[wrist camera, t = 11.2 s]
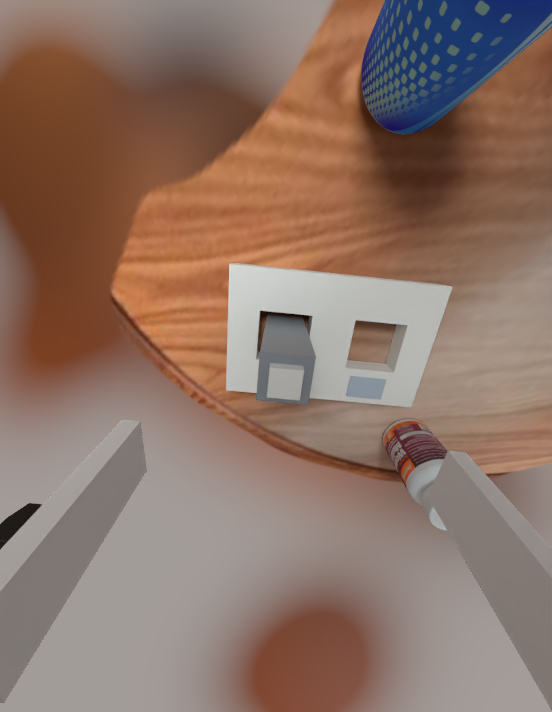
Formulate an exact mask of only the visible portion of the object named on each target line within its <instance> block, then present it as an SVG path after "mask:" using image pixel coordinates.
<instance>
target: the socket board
mask: <svg viewBox="0 0 552 712" xmlns="http://www.w3.org/2000/svg"><path fill="white" fill-rule="evenodd" d="M451 290H452V287H451V286H446V285H441V284H435V283H425V282H415V281H406V280H396V279H386V278H376V277H367V276H357V275H347V274H338V273H328V272H318V271H309V270H299V269H289V268H279V267H270V266H260V265H250V264H241V263H231V264H230V266H229V301H228V337H227V373H226V390H229V391H239V392H250V393H257V381H258V368H259V356H260V352H258V345H259V332H260V319H261V311H269V312H279V313H289V314H299V315H309V322H308V329H307V331H308V334H309V337H310V340H311V343H312V346H313V349H314V352H315V355H316V360H315V366H314V372H313V378H312V384H311V390H310V396H309V398H315V399H325V400H336V401H347V402H358V403H369V404H379V405H390V406H401V407H412V404H413V401H414V398H415V395H416V392H417V390H418V387H419V384H420V381H421V378H422V375H423V372H424V369H425V366H426V363H427V360H428V357H429V355H430V352H431V349H432V346H433V343H434V340H435V337H436V334H437V331H438V328H439V325H440V322H441V319H442V317H443V314H444V311H445V308H446V305H447V302H448V299H449V296H450V293H451ZM356 320H359V321H369V322H380V323H390V324H396V328H395V332H394V335H393V339H392V342H391V346H390V349H389V353H388V357H387V360H386V364H383V363H372V362H362V361H352V360H347V358H348V354H349V349H350V344H351V340H352V335H353V330H354V326H355V321H356Z"/></svg>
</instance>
